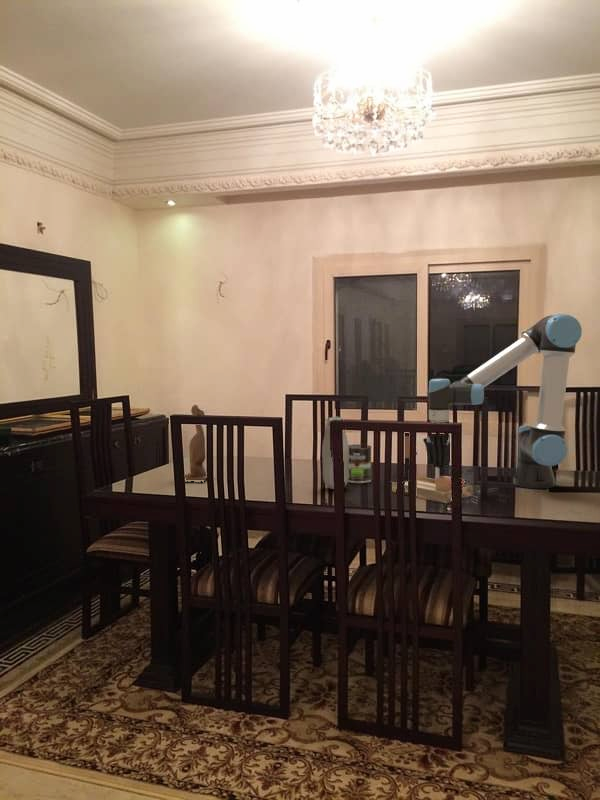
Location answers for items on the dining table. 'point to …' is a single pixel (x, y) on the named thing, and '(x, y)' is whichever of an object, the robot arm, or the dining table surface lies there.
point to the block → (445, 483)
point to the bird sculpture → (197, 451)
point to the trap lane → (433, 490)
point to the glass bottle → (328, 459)
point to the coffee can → (359, 464)
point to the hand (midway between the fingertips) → (439, 484)
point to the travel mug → (407, 454)
